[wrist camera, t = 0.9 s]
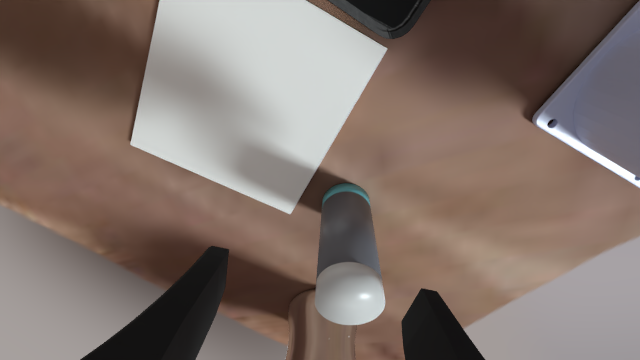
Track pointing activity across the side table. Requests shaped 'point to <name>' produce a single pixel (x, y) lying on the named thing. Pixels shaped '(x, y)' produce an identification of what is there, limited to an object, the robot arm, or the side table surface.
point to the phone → (385, 14)
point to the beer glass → (317, 333)
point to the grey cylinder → (348, 259)
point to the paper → (250, 91)
